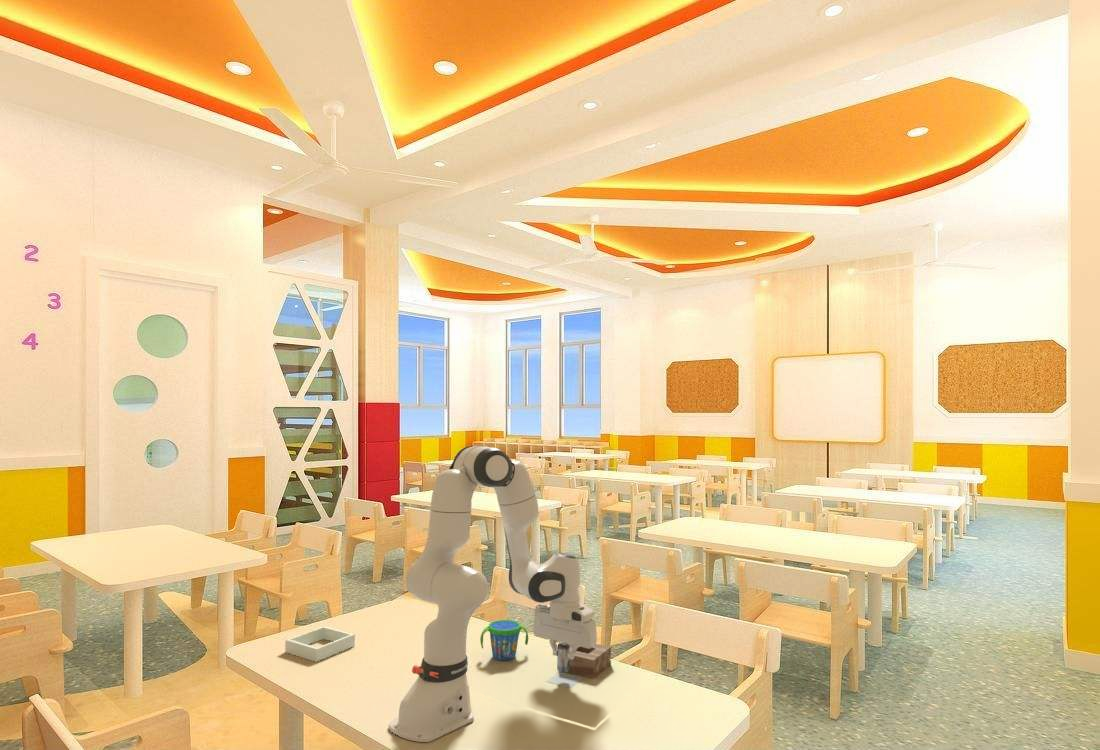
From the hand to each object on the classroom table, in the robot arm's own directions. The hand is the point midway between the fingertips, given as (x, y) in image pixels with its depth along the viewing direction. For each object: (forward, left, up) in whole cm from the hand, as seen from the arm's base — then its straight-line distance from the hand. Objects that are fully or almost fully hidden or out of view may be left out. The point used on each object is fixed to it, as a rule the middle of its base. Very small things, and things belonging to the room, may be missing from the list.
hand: (563, 657), depth 184 cm
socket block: (+12, -1, -7) cm, 14 cm away
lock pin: (0, 0, -4) cm, 4 cm away
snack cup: (+7, +26, -8) cm, 28 cm away
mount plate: (+1, 0, -7) cm, 7 cm away
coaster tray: (-20, +82, -7) cm, 85 cm away
